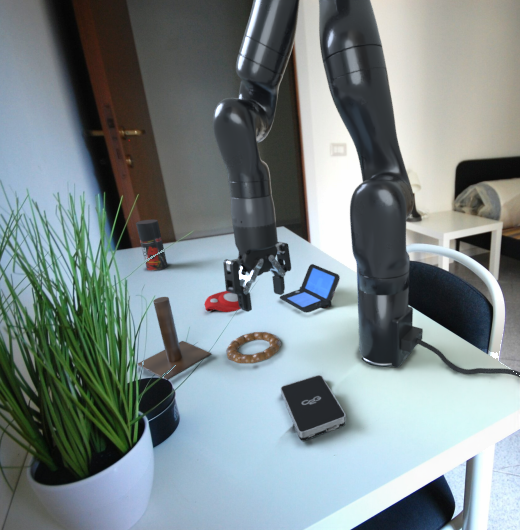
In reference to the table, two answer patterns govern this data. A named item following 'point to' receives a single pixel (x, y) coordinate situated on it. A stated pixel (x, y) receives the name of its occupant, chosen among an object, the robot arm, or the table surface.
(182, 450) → the table surface
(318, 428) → the external hard drive
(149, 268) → the deodorant
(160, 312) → the peg
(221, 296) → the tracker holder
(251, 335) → the brown lumpy ring
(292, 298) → the handheld console
